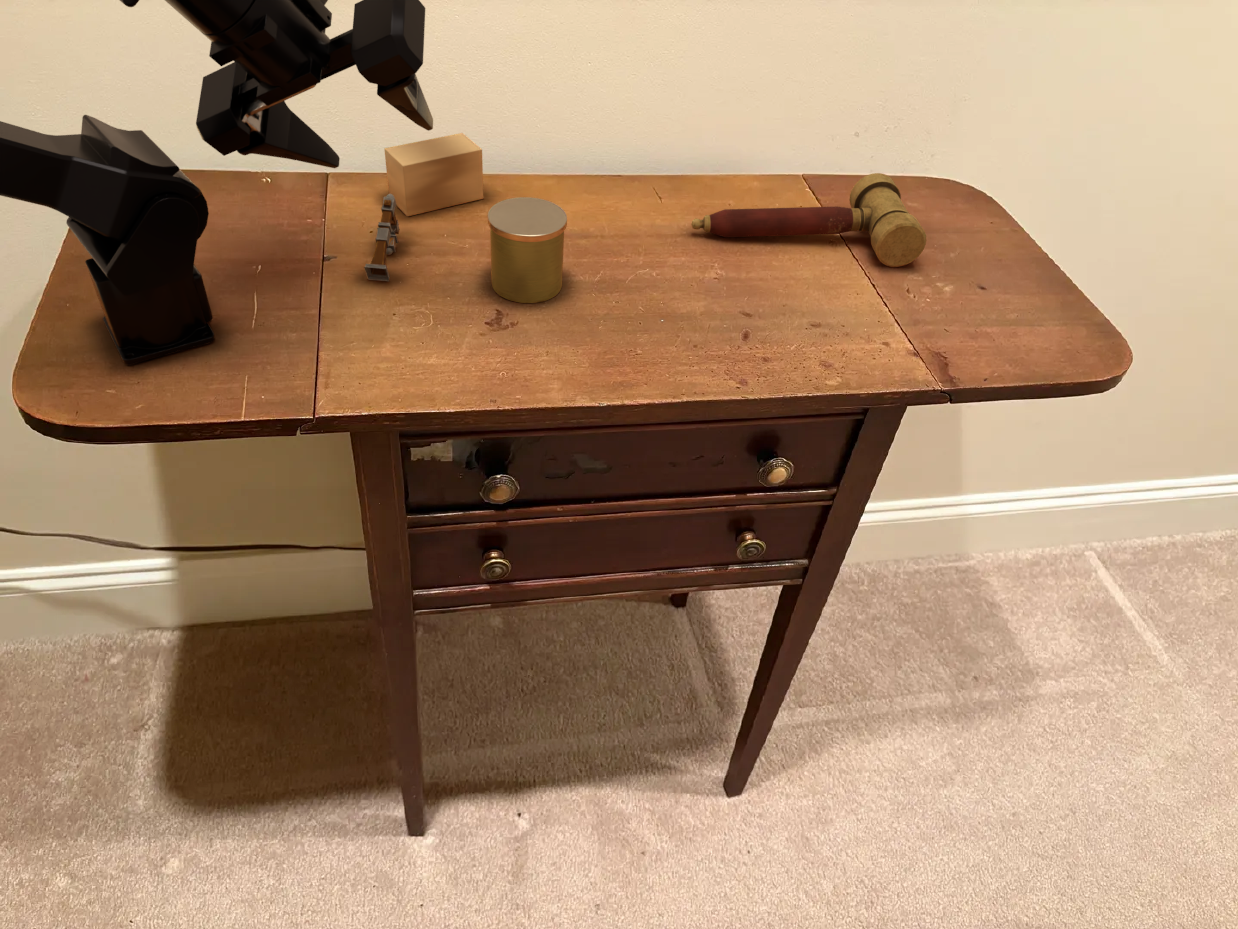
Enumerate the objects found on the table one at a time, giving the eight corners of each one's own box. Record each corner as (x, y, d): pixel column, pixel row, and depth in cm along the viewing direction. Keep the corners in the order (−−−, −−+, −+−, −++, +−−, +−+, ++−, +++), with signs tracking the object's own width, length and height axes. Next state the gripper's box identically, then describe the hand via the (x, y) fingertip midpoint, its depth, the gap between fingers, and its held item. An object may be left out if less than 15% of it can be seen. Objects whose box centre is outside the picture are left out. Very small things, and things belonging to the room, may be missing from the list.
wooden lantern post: (407, 222, 83) (399, 188, 79) (394, 297, 80) (385, 267, 75) (387, 220, 83) (378, 187, 78) (373, 296, 80) (363, 265, 75)
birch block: (407, 216, 85) (402, 165, 82) (389, 198, 88) (383, 147, 84) (483, 198, 89) (482, 149, 86) (464, 181, 91) (462, 132, 88)
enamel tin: (512, 312, 75) (512, 242, 71) (475, 275, 79) (473, 206, 75) (578, 292, 78) (582, 224, 74) (539, 257, 82) (540, 190, 78)
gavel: (700, 228, 81) (686, 176, 88) (696, 273, 84) (683, 220, 91) (932, 222, 82) (899, 171, 90) (920, 267, 85) (889, 214, 93)
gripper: (350, -152, 59) (484, 23, 72) (145, -36, 66) (301, 104, 79) (339, -24, 55) (482, 137, 68) (121, 85, 62) (289, 211, 75)
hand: (383, 144), depth 73 cm, fingers open, 9 cm apart
